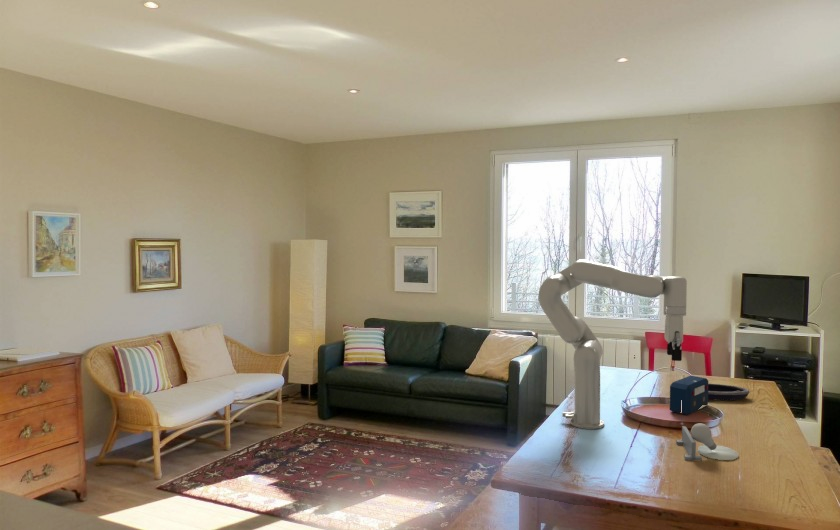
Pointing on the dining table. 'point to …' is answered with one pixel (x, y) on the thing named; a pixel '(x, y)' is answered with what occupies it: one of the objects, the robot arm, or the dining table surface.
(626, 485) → the dining table surface
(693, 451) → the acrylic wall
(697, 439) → the lightbulb
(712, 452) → the white round dome
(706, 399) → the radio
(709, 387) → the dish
